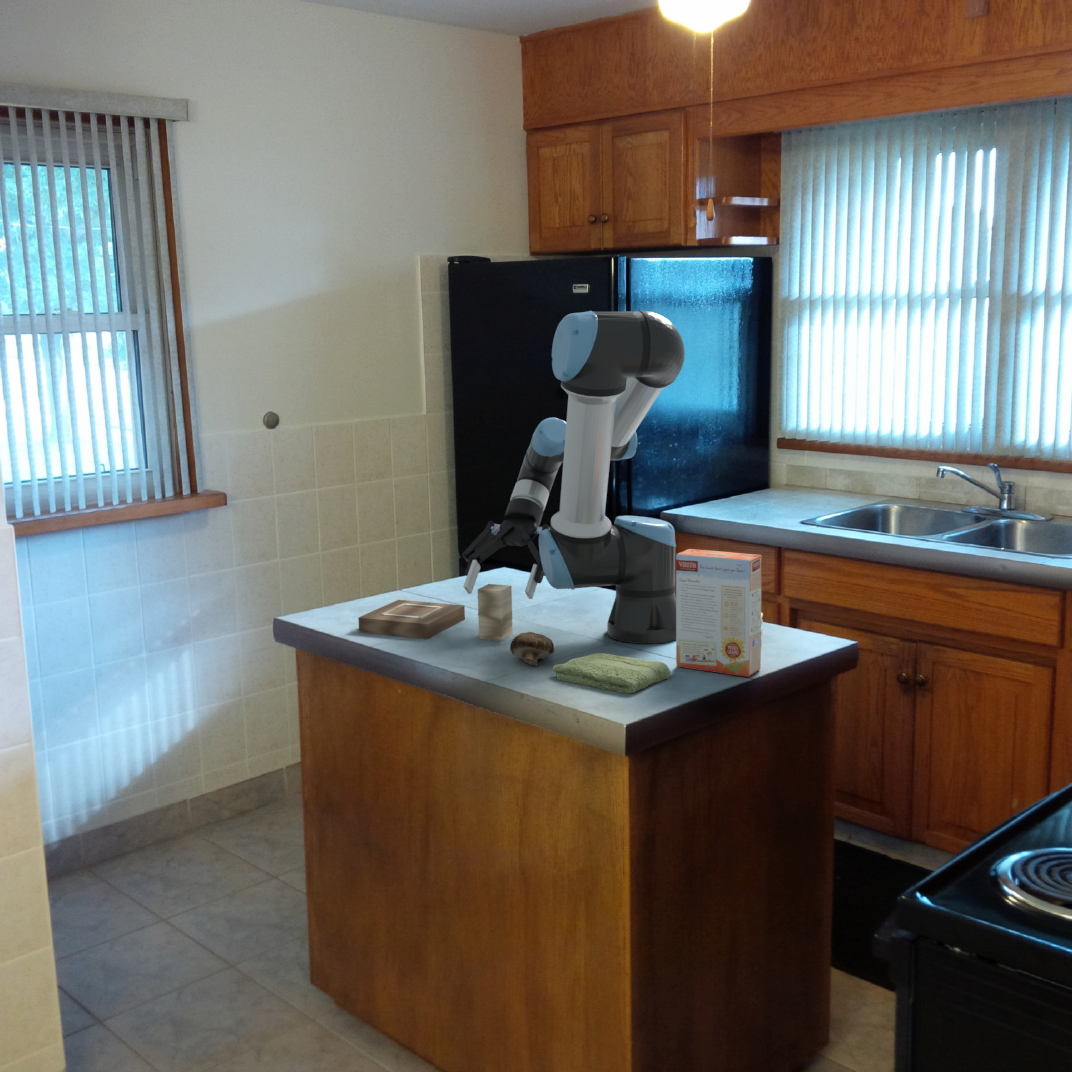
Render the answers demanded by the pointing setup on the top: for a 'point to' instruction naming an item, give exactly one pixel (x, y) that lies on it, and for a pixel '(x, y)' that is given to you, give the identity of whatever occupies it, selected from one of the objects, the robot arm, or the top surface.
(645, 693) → the top surface
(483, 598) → the beech pillar
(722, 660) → the cracker box
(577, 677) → the washcloth
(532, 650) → the mushroom
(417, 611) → the base board
